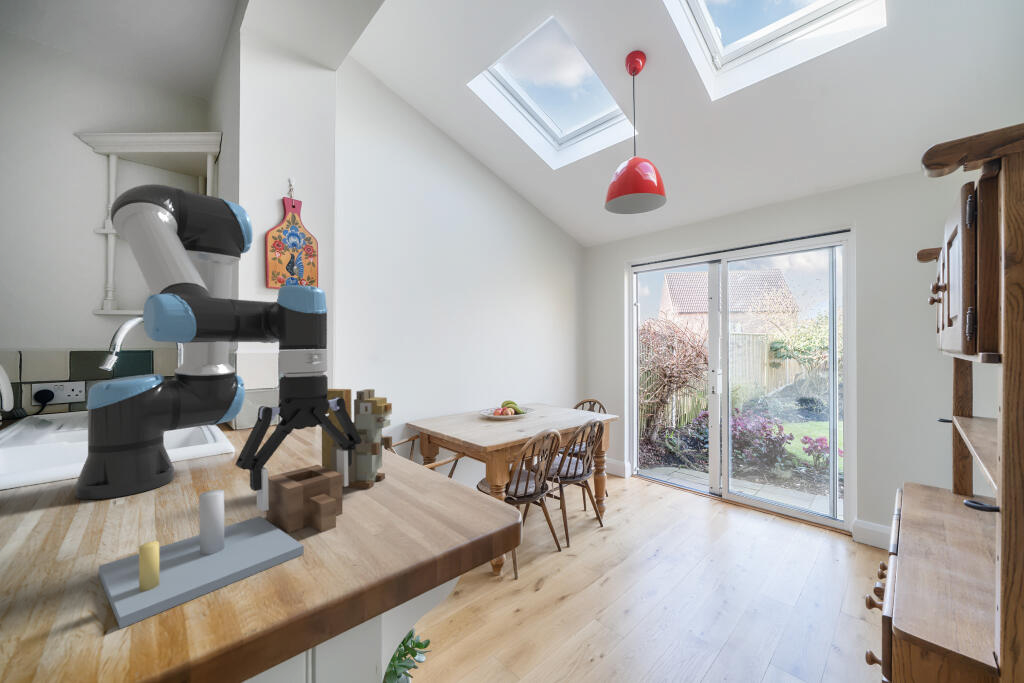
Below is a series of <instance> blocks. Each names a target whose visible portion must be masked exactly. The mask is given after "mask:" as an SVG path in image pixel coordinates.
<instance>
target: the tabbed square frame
mask: <svg viewBox="0 0 1024 683" xmlns="http://www.w3.org/2000/svg"><path fill="white" fill-rule="evenodd" d="M268 505H269V510H266V511H265V513H266V515H265V516H266V519H268V520H269V521H271V522H272V523H274V524H275V525H276V526H278V527H279V528H280V529H282V530H284V531H286V532H287V533H292V532H295V531H297V530H300V529H303V528H306V527H309V526H310V527H312V528H314V529H315V530H317V531H319V532H321V533H323V532H326V531H328V530H332V529H335V528H336V527H337V516H339V515H340V516H341V515H342V514H343V513H344V512H343V487H342V474H341V473H338V472H335V471H333V470H330V469H328V468H325V467H322V465H319V464H315V465H310V466H307V467H304V468H299V469H295V470H291V471H290V470H289V471H287V472H283V473H279V474H274V475H270V476H268Z"/></svg>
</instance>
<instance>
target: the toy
mask: <svg viewBox="0 0 1024 683" xmlns="http://www.w3.org/2000/svg"><path fill="white" fill-rule="evenodd" d="M335 397H336V398H343V399H344V400H345V407H346V411H347V413H348V415H349V417H350V418H351V420H353V421H352V422H353V424H354V426H355V428H356V430H357V432H358V434H359V436H360V438H361V440H362V441H361V443H360V444H357V445H355V448H354V450H352V464H351V466H348V486H345V487H344V486H342V488H350V489H351V488H353V489H365V490H367V489H368V490H370V489H371V488H373V487H374V485H375V484H374V483H375V482H382V481H383V480H385V479H386V473H384V472H378V470H380V469H381V468H383V447H384V449H388V450H389V449H391V448H393V436H392V435H391V436H389V435H383V429H384V428H386V427H389V426H391V419H389V418H390V415H392V413H393V412H392V411H393V410H392V409H393V406H392V404H393V403H392V402H388V400H387V399H388V398H387V397H383V396H382V397H377V396H375V388H366V389H362V390H357V391H356V399H353V412H352V389H351V388H328V394H327V399H328V401H329V400H332V399H333V398H335ZM352 413H353V418H352ZM325 415H326V416H327V417H328V418H329V419H330V420H331V421H332V423H333V424H334V426H335V427H336V428H337V429H338V430H339V431H340V432H341V433H342V434H343V435H344V436H345V437H346V438H347V436H346V434H345V432H344V430H343V428H342V426H341V425H340V423H339V421H338V419H337V417H336V415H335V413H334V411H333V410H331V408H330V407H329V409H328V411H327V412H326V414H325ZM347 439H348V438H347ZM337 449H342V447H341V446H340V445H339V444H338V443H337V442H336V441H335V440H334V439H333V438H332V437H331V436H330V435H329V434H328V433H327V432H326V431H325V430H324V429H323V428H322V427H321V466H322V467H325V468H328V469H330V470H333V471H335V472H337Z"/></svg>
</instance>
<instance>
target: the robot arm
mask: <svg viewBox="0 0 1024 683" xmlns="http://www.w3.org/2000/svg"><path fill="white" fill-rule="evenodd" d="M109 214H110V221H111V224H112V226H113V229H114V230H115V233H116V234H117V235H118V236H119V238H121V239H122V240H123V241H125V243H127V244H128V246H129V248H130V250H131V252H132V254H133V257H134V260H135V261H136V263H137V266H138V267H139V270H140V272H141V274H142V276H143V278H144V281H145V283H146V285H147V287H148V290H149V293H150V295H149V296H148V297H147V298H146V300H145V303H144V305H143V311H142V320H143V326H144V327H143V328H144V332H145V334H146V336H147V337H148V338H149V339H151V340H153V341H155V342H164V343H166V342H167V343H168V342H169V343H177V344H183V363H182V364H181V365H180V366H178V367H176V369H174V378H172V379H171V378H170V379H165V376H163V374H162V373H150V374H140V375H133V376H124V377H119V378H113V379H109V380H104V381H99V382H96V383H95V384H93V385H92V386H91V387H90V388H89V389H88V393H87V394H88V395H87V403H86V404H87V405H86V407H85V408H86V410H87V457H86V459H85V462H84V464H83V467H82V468H81V471H80V473H79V476H78V478H77V481H76V483H75V486H74V487H75V488H74V489H75V498H77V499H82V500H101V499H111V498H118V497H124V496H129V495H135V494H138V493H142V492H147V491H149V490H150V491H151V490H153V489H156V488H159V487H162V486H164V485H166V484H169V483H170V482H172V481H173V480H174V479H175V468H174V465H173V463H172V460H171V458H170V456H169V454H168V452H167V449H166V447H165V444H164V440H165V438H164V435H165V432H170V431H177V430H183V429H190V428H196V427H197V428H198V427H204V426H216V425H218V424H222V423H227V422H231V421H233V420H234V419H235V418H236V417H237V416H238V415H239V414H240V412H241V410H242V408H243V405H244V402H245V396H246V389H245V387H244V386H245V382H244V379H243V378H242V377H241V376H239V375H237V374H236V369H235V367H233V366H232V365H230V364H229V355H230V354H229V353H230V343H263V344H265V343H267V344H269V343H270V344H275V343H278V373H280V374H282V376H280V378H279V380H278V381H279V384H278V385H279V389H278V390H279V404H278V406H274V407H272V406H270V407H269V406H264V405H262V406H260V407H258V411H257V420H256V422H255V424H254V425H253V427H252V430H251V431H250V433H249V436H248V438H247V439H246V441H245V444H244V445H243V447H242V449H241V451H240V454H239V456H238V458H237V459H236V462H235V467H237V468H239V469H242V470H244V471H245V470H248V471H249V487H250V489H251V490H252V491H254V492H256V508H257V509H258V510H260V511H262V512H266V510H269V505H268V477H269V468H266V467H265V465H266V464H267V462H268V461H269V460H270V458H272V456H273V455H274V454H275V452H276V451H277V450H278V448H279V447H280V446H281V444H283V442H284V441H285V439H286V437H287V436H288V435H289V434H291V433H292V432H293V431H294V429H295V430H298V431H299V430H303V429H305V428H315V427H317V426H319V427H321V429H322V428H323V429H324V430H325V431H326V432H327V433H328V434H329V435H330V436H331V437H332V438H333V439H334V440H335V441H336V442H337V443H338V444H339V445H340V446H341V447H342V449H337V472H338V473H341V474H342V486H344V487H343V488H346V487H345V486H348V466H351V464H352V450H354V448H355V445H357V444H360V443H361V441H362V440H361V438H360V436H359V434H358V432H357V430H356V428H355V426H354V424H353V422H354V421H352V420H353V419H352V420H351V418H350V417H349V415H348V413H347V411H346V407H345V400H344V399H343V398H336V397H335V398H333V399H332V400H329V401H328V399H327V394H328V389H329V388H328V386H329V385H328V384H329V383H328V376H327V375H326V374H324V373H325V372H327V371H328V348H327V347H328V346H327V345H328V307H327V298H326V297H327V296H326V292H325V290H324V289H322V288H321V287H317V286H313V285H302V284H301V285H300V284H297V285H296V284H295V285H292V284H291V285H283V286H281V287H279V289H278V294H277V299H276V301H261V300H260V301H259V300H246V299H233V298H232V287H233V266H234V265H235V264H236V263H238V262H239V261H241V255H242V254H246V253H248V252H249V251H250V249H251V246H252V245H251V244H252V243H253V236H254V235H253V225H252V222H251V221H252V220H251V218H250V215H249V214H248V213H247V211H246V209H245V208H244V207H243V206H242V205H240V204H238V203H237V202H236V203H235V202H232V201H229V200H226V199H224V198H220V197H215V196H210V195H207V194H201V193H199V192H193V191H191V190H185V189H181V188H177V187H173V186H170V185H166V184H157V183H153V184H142V185H138V186H137V185H136V186H135V187H132V188H130V189H127V190H126V191H124V192H122V193H121V194H120V195H119V196H117V197H116V199H115V200H114V201H113V203H112V206H111V208H110V213H109ZM329 407H330V408H331V410H333V411H334V413H335V415H336V417H337V419H338V421H339V423H340V425H341V426H342V428H343V430H344V432H345V434H346V436H347V438H348V439H347V438H346V437H345V436H344V435H343V434H342V433H341V432H340V431H339V430H338V429H337V428H336V427H335V426H334V424H333V423H332V421H331V420H330V419H329V418H328V417H327V416H328V415H327V414H326V412H327V411H328V409H329ZM277 415H278V416H279V417H280V418H281V420H280V422H279V423H278V424H277V425H276V426H275V430H274V431H273V432H272V433H271V434H270V436H269V437H268V438H267V440H266V441H265V442H264V444H263V445H262V446H261V444H262V442H263V439H264V438H265V436H266V434H267V432H268V430H269V428H270V425H271V423H272V421H273V420H274V419H275V418H276V416H277ZM260 446H261V448H260ZM259 448H260V449H259Z"/></svg>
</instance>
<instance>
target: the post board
mask: <svg viewBox="0 0 1024 683" xmlns="http://www.w3.org/2000/svg"><path fill="white" fill-rule="evenodd" d="M198 498H199V500H198V504H199V505H198V506H199V508H198V510H199V511H198V512H199V534H197V535H194V536H191V537H188V538H184V539H181V540H178V541H175V542H172V543H169V544H168V543H167V544H165V545H162V546H160V541H158V540H153V541H152V540H151V541H149V542H145V543H143V544H141V545H140V546H139V547H138V553H136V554H134V555H133V554H132V555H130V556H127V557H123V558H120V559H117V560H114V561H113V560H112V561H111V562H108V563H105V564H101V565H98V576H99V579H100V582H101V584H102V587H103V590H104V592H105V595H106V597H107V598H108V602H109V604H110V608H111V609H112V612H113V614H114V616H115V619H116V622H117V624H118V628H119V630H120V629H123V628H125V627H129V626H131V625H133V624H136V623H139V622H140V621H142V620H145V619H148V618H150V617H152V616H155V615H157V614H159V613H163V612H165V611H167V610H170V609H172V608H174V607H177V606H180V605H182V604H185V603H187V602H189V601H192V600H194V599H197V598H199V597H202V596H204V595H206V594H209V593H211V592H214V591H216V590H219V589H221V588H223V587H227V586H229V585H231V584H234V583H235V582H238V581H241V580H244V579H246V578H248V577H250V576H253V575H255V574H258V573H260V572H263V571H265V570H268V569H271V568H273V567H275V566H278V565H280V564H282V563H285V562H288V561H290V560H293V559H295V558H297V557H299V556H302V555H304V554H305V552H304V550H305V547H304V544H302V543H300V542H299V541H298V540H296V539H294V538H293V537H292V536H290V535H289V534H287V533H286V532H284V531H283V530H281V528H278V527H277V526H275V525H274V524H272V523H271V522H269V521H268V520H266V519H265V518H264V517H263V516H261V515H259V516H255V517H252V518H249V519H246V520H242V521H240V522H236V523H232V524H230V525H227V526H226V525H225V490H224V489H213V490H208V491H204V492H202V493H200V494H199V496H198Z"/></svg>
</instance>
